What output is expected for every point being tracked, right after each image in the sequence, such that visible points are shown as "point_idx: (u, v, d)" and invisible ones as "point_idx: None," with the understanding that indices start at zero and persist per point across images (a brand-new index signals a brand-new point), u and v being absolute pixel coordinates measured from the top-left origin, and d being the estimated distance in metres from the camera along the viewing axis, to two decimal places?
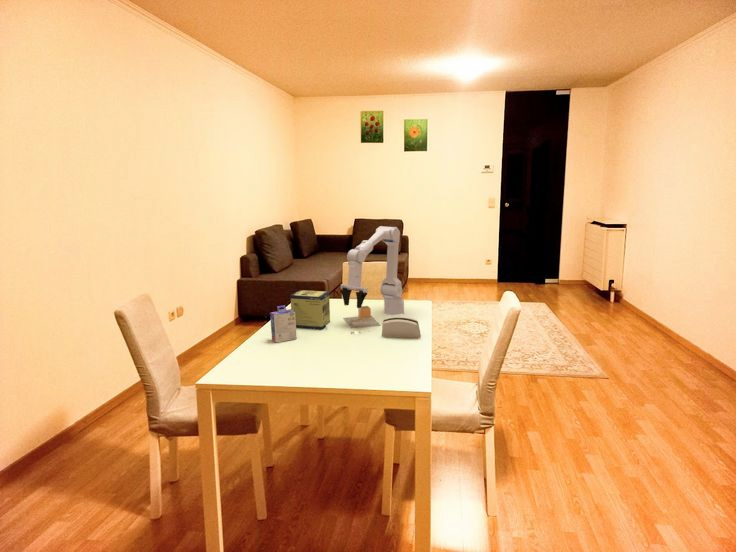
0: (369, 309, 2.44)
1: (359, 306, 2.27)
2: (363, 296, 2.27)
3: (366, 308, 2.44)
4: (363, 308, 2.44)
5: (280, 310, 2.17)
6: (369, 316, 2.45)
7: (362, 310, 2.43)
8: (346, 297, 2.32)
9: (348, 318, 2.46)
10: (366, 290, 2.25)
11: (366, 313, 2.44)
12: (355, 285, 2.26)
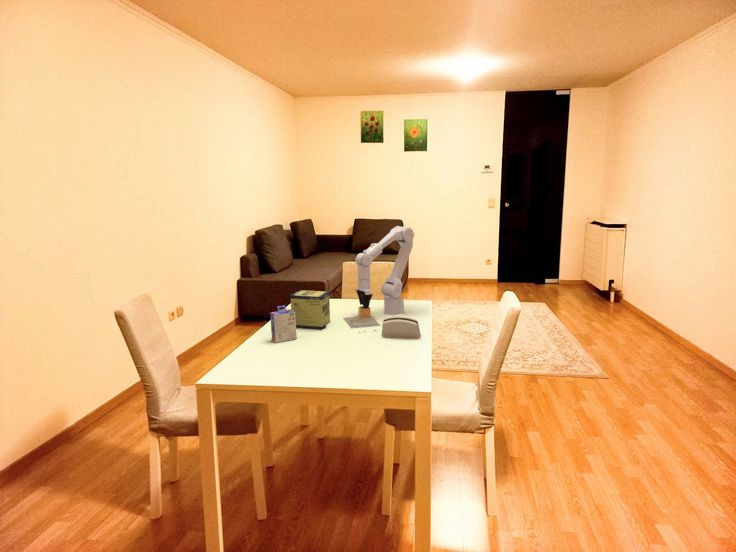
0: (369, 309, 2.44)
1: (365, 307, 2.41)
2: (369, 298, 2.40)
3: None
4: (363, 308, 2.44)
5: (280, 310, 2.17)
6: (369, 316, 2.45)
7: (362, 310, 2.43)
8: (361, 297, 2.48)
9: (348, 318, 2.46)
10: (368, 293, 2.37)
11: (366, 313, 2.44)
12: (361, 287, 2.41)
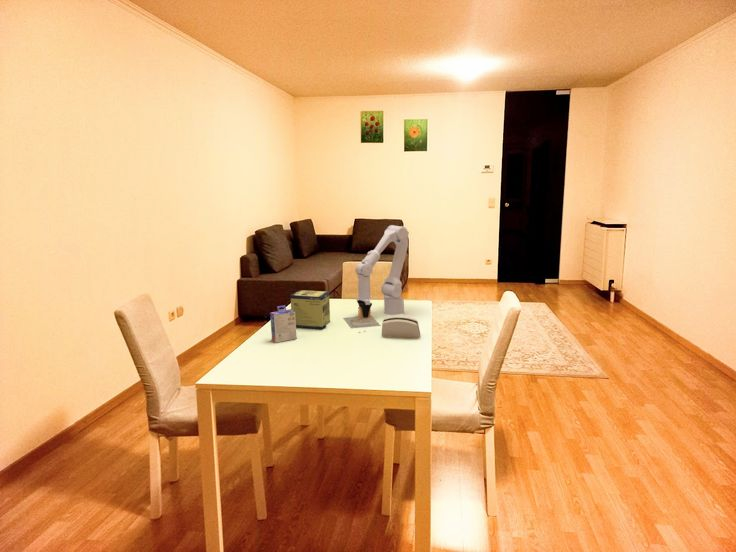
0: None
1: (365, 316, 2.43)
2: (368, 307, 2.42)
3: None
4: None
5: (280, 310, 2.17)
6: (369, 316, 2.45)
7: None
8: None
9: (348, 318, 2.46)
10: (368, 302, 2.38)
11: None
12: (361, 297, 2.42)
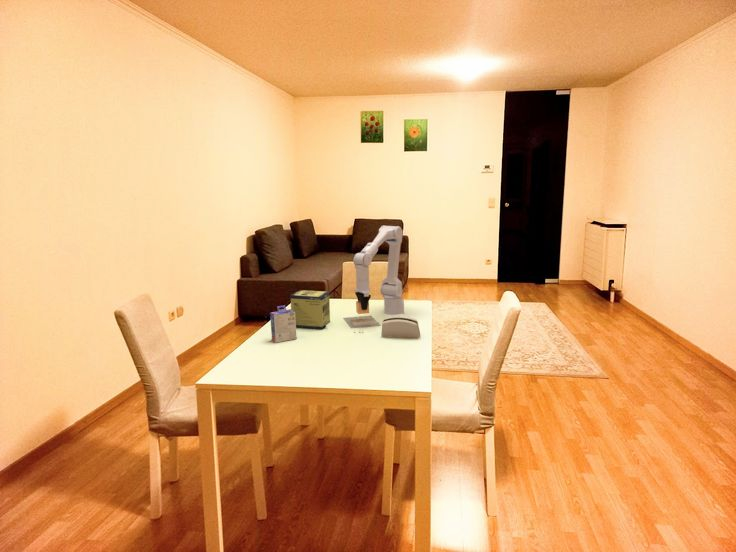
0: None
1: (363, 308, 2.32)
2: (367, 299, 2.31)
3: None
4: None
5: (280, 310, 2.17)
6: (367, 311, 2.33)
7: (360, 304, 2.32)
8: None
9: (348, 318, 2.46)
10: (366, 294, 2.26)
11: None
12: (360, 288, 2.30)
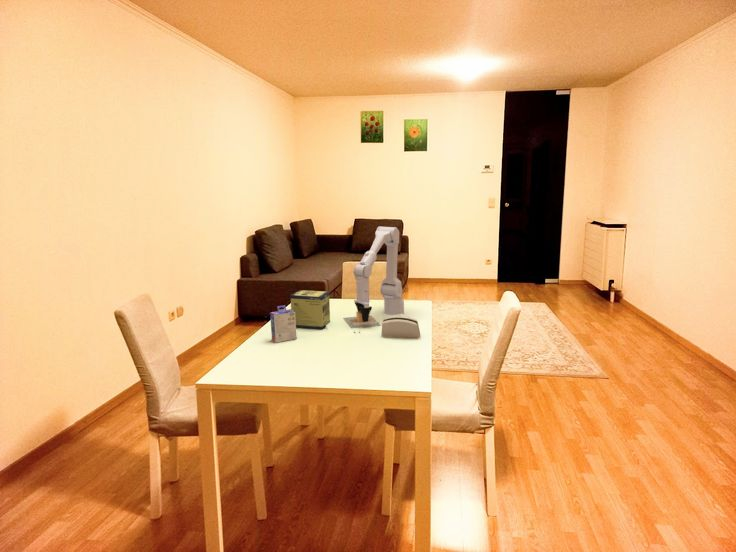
0: None
1: (364, 320, 2.31)
2: (368, 310, 2.30)
3: None
4: None
5: (280, 310, 2.17)
6: None
7: (360, 315, 2.33)
8: (360, 309, 2.38)
9: (348, 318, 2.46)
10: (367, 305, 2.27)
11: None
12: (360, 299, 2.31)
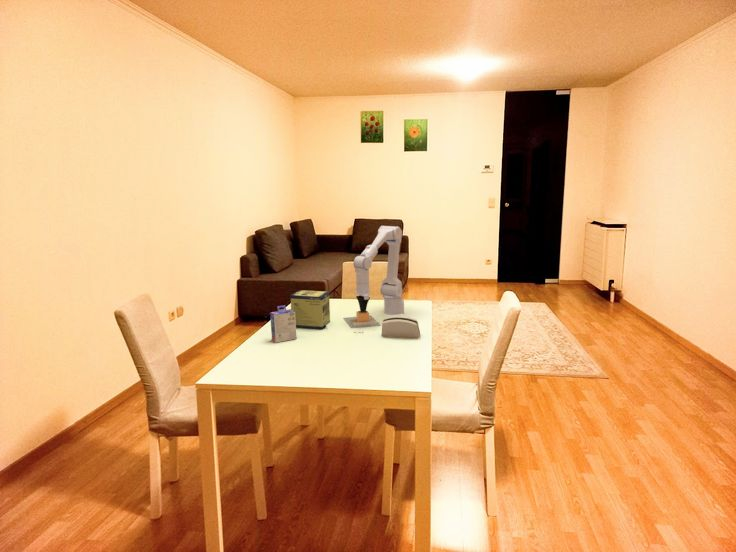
0: (368, 314, 2.34)
1: (362, 310, 2.34)
2: (366, 301, 2.33)
3: (364, 313, 2.33)
4: (361, 313, 2.33)
5: (280, 310, 2.17)
6: None
7: (360, 315, 2.33)
8: None
9: (348, 318, 2.46)
10: (367, 297, 2.27)
11: (364, 318, 2.34)
12: (360, 291, 2.31)
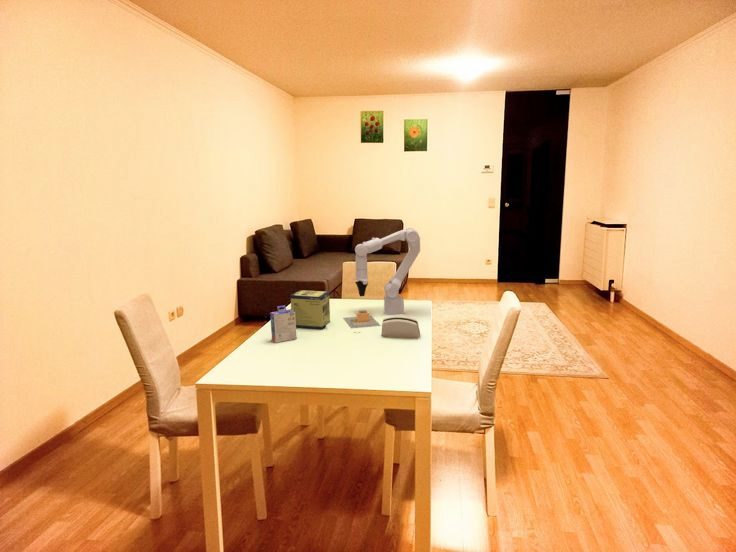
0: (368, 314, 2.34)
1: (361, 295, 2.51)
2: (364, 286, 2.50)
3: (364, 313, 2.33)
4: (361, 313, 2.33)
5: (280, 310, 2.17)
6: None
7: (360, 315, 2.33)
8: None
9: (348, 318, 2.46)
10: (365, 282, 2.44)
11: (364, 318, 2.34)
12: (359, 277, 2.48)
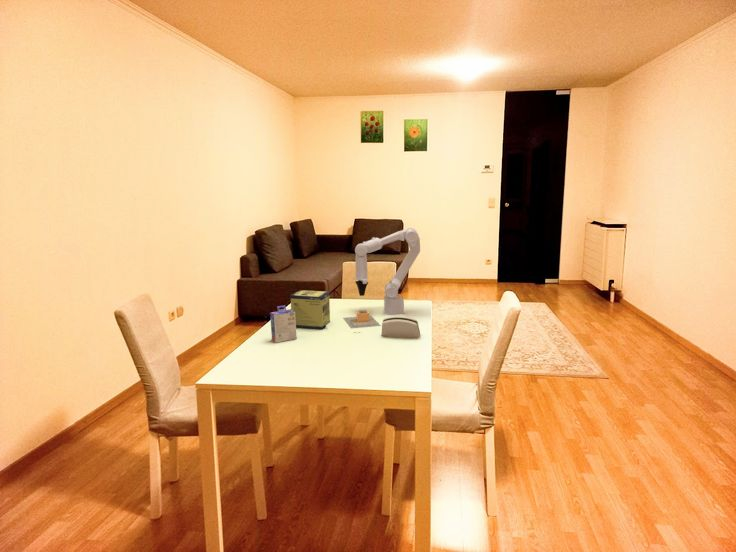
0: (368, 314, 2.34)
1: (361, 294, 2.53)
2: (364, 285, 2.51)
3: (364, 313, 2.33)
4: (361, 313, 2.33)
5: (280, 310, 2.17)
6: None
7: (360, 315, 2.33)
8: None
9: (348, 318, 2.46)
10: (365, 282, 2.45)
11: (364, 318, 2.34)
12: (359, 277, 2.49)
